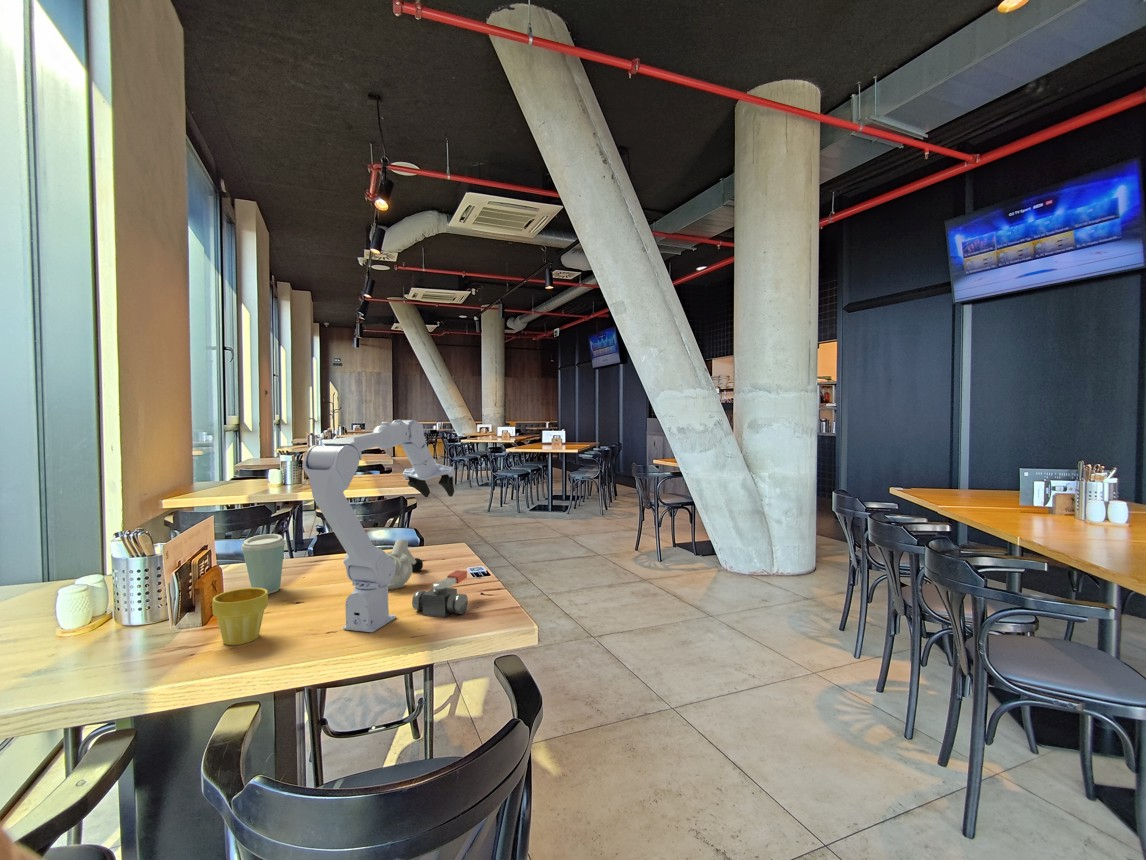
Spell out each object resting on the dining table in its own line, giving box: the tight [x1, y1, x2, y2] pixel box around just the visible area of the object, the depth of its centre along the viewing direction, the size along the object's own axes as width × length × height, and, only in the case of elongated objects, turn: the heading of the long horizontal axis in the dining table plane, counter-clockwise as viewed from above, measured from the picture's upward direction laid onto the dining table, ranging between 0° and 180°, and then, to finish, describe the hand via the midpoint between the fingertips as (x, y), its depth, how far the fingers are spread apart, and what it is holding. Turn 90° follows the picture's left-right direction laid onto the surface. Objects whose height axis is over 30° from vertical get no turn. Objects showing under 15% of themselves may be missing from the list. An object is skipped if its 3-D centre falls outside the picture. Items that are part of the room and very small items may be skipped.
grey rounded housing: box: [385, 538, 424, 591], centre depth 159 cm, size 10×20×15 cm
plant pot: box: [211, 587, 269, 646], centre depth 118 cm, size 10×10×10 cm
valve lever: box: [432, 569, 468, 592], centre depth 138 cm, size 13×3×2 cm, turn 164°
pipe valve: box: [411, 587, 469, 618], centre depth 133 cm, size 6×13×5 cm, turn 74°
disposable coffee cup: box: [240, 533, 286, 595], centre depth 150 cm, size 11×11×15 cm
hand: (439, 494), depth 152 cm, fingers open, 7 cm apart
